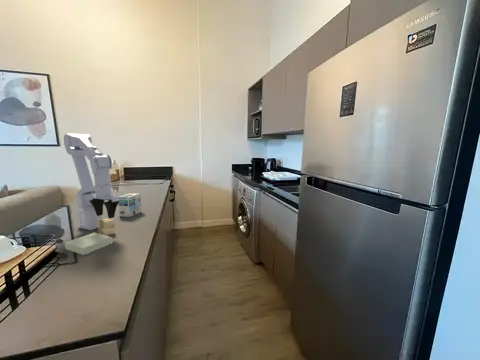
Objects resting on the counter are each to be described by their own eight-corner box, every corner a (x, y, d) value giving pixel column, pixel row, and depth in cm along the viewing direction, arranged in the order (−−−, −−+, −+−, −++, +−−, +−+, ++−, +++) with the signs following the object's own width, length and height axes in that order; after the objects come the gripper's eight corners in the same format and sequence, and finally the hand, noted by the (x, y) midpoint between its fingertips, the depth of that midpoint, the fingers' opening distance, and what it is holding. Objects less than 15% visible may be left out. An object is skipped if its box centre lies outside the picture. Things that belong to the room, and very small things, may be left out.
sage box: (65, 250, 88) (64, 242, 87) (95, 239, 98) (94, 232, 97) (83, 256, 83) (83, 248, 83) (113, 244, 93) (112, 237, 92)
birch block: (98, 234, 102) (97, 221, 101) (108, 231, 106) (107, 218, 105) (105, 236, 100) (104, 222, 99) (115, 233, 104) (114, 219, 103)
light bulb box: (130, 217, 126) (128, 197, 124) (118, 216, 127) (117, 196, 126) (142, 211, 136) (141, 193, 135) (131, 211, 138) (130, 192, 136)
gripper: (82, 184, 99) (85, 216, 101) (105, 187, 93) (107, 221, 95) (98, 182, 105) (101, 212, 107) (121, 184, 99) (123, 216, 101)
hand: (105, 216), depth 101 cm, fingers open, 7 cm apart
